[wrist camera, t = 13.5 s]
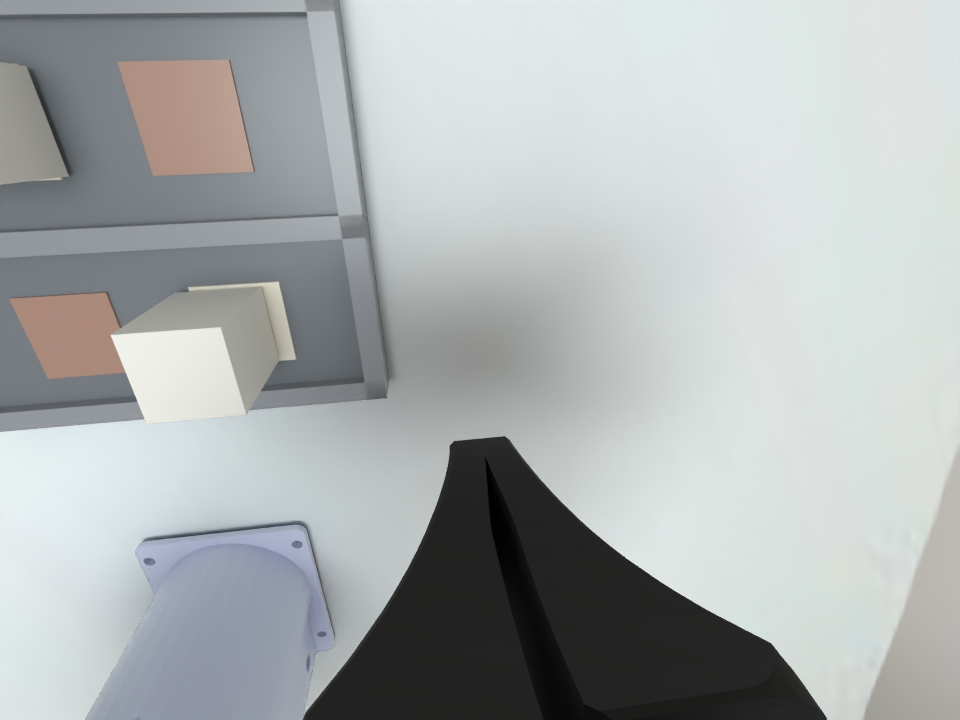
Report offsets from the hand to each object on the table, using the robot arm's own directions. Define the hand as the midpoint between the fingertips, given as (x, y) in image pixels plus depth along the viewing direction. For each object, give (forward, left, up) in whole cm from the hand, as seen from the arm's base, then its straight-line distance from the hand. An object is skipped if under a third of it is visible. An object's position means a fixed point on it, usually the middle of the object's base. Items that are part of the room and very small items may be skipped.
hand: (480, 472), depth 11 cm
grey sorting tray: (+5, +11, -10) cm, 15 cm away
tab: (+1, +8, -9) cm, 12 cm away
